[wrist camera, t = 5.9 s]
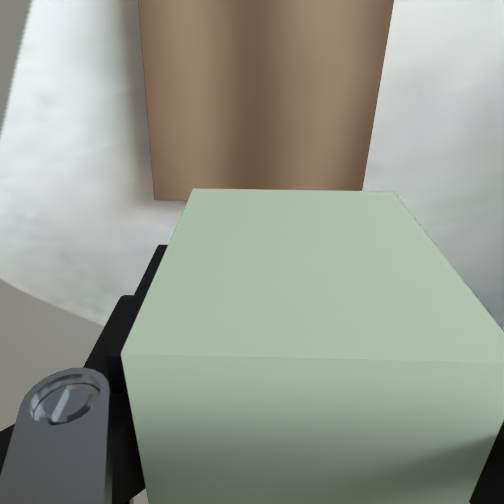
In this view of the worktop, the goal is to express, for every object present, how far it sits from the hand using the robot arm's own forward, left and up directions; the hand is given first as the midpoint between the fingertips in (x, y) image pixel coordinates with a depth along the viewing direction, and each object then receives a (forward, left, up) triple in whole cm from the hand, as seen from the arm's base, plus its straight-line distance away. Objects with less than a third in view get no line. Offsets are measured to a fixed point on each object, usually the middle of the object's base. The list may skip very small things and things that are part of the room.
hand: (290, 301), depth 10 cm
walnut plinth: (+1, -3, -17) cm, 18 cm away
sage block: (0, 0, -1) cm, 1 cm away
